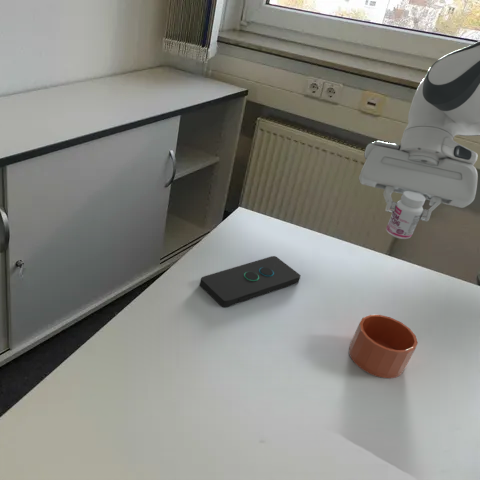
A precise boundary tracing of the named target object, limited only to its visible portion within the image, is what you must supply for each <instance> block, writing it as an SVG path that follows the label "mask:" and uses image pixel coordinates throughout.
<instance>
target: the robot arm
mask: <svg viewBox="0 0 480 480" xmlns="http://www.w3.org/2000/svg"><path fill="white" fill-rule="evenodd" d="M407 119H408V120H407V121H408V122H407V125H406V127H405V128H404V130H403V133H402V136H401V139H400V143H399V144H396V143H390V142H389V143H388V142H384V141H381V140H376V141H374V142H370V143H367V145H366V147H365V149H364V153H363V157H364V159H365V162H364V164H363V165H362V168H361V170H360V172H359V175H358V181H359V183H360V184H361V185H362V186H367V187H371V188H376V189H380V190H383V194H382V195H383V198H384V201H385V204H386V205H385V209H384V212H387V213H390V214H392V213H393V212H394V211H395V209H396V205H397V202H398V201H394V200H393V197H392V194H393V193H397V194H399V195H400V194H403V192H405V191H414V192H417V193H420V194H422V195H423V196H424V197H425V198H426V200H425V201H429V203H428V205H429V206H431V207H429V208H428V209H426V208H423V212H422V214H421V217H420V219H419V221H423V222H428V221H430V219H431V215H432V212H433V211H435V209H436V208H438V206H440V205H441V204H444V205H447V206H451V207H457V208H461V209H464V208H466V207H467V206H469V205H471V204H472V203H473V202H474V201H475V198H476V196H477V195H476V194H477V189H478V182H479V181H478V179H479V176H478V175H479V174H478V173H479V172H478V170H477V168H476V167H475V166H474V165H475V164H476V162H477V161H478V158H479V154H478V153H477V152H476V151H474V150H472V149H470V148H468V147H466V146H464V145H462V144H460V143H459V142H457V141H455V140H454V138H455V137H456V136H462V137H478V136H480V40H478V41H476V42H474V43H471V44H470V45H467V46H465V47H462V48H460V49H456V50H454V51H452V52H449V53H447V54H445V55H443V56H442V57H440V58H438V59H437V60H436V61H435V62H434V63H433V64H432V65H431V66H430V67H429V68H428V70H427V72H426V74H425V76H424V78H423V79H422V81H421V82H420V83H419V84H418V86H417V88H416V90H415V92H414V95H413V97H412V101H411V103H410V108H409V110H408V114H407Z"/></svg>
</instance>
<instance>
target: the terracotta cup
mask: <svg viewBox="0 0 480 480" xmlns="http://www.w3.org/2000/svg"><path fill="white" fill-rule="evenodd" d="M418 342H419V341H418V339H417V336H416V334H415V333H414V332H413V331H412V330H411V328H410V327H408V326H407V325H406V324H404V323H403V322H402V321H399V320H397V319H395V318H392V317H390V316H386V315H382V314H368V315H366V316H364V317H362V318H361V319H360V322H359V323H358V326H357V327H356V329H355V333H354V335H353V337H352V339H351V342H350V344H349V347H348V353H349V357H350V358H351V360H352V362H353V363H354V364H355V365H356V366H357V367H358V368H360V369H361V370H362V371H364V372H366V373H368V374H370V375H372V376H375V377H378V378H383V379H394V378H398V377H399V376H401V375H402V374H403V373H404V371H405V369H406V367H407V366H408V363H409V362H410V360H411V358H412V356H413V354H414V352H415V350H416V348H417V346H418V344H419V343H418Z"/></svg>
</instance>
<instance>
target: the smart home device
mask: <svg viewBox="0 0 480 480" xmlns="http://www.w3.org/2000/svg"><path fill="white" fill-rule="evenodd" d="M300 280H301V274H300V273H298V272H297V271H296V270H295V269H293V268H292V267H291V266H289V265H288V264H287V263H285V262H284V261H283V260H282V259H280V258H279V257H278V256H276V255H272V256H268V257H265V258H264V257H263V258H261V259H258V260H255V261H251V262H248V263H244V264H241V265H237V266H234V267H231V268H228V269H225V270H221V271H217V272H214V273H210V274H208V275H204V276H202V277H201V278H200V280H199V286H200V287H201V288H202V289H203V290H204V291H205V292H206V293H207V294H208V295H209V296H210V297H211V298H212V299H213V300H214V301H215V302H217V304H219V306H221V307H222V308H229V307H232V306H234V305H238V304H241V303H244V302H246V301H249V300H252V299H255V298H258V297H261V296H264V295H267V294H270V293H273V292H276V291H279V290H283V289H285V288H289V287H291V286H294V285H296V284H298V283H299V282H300Z"/></svg>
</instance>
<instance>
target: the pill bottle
mask: <svg viewBox="0 0 480 480" xmlns="http://www.w3.org/2000/svg"><path fill="white" fill-rule="evenodd" d="M426 201H427V200H426V198H425V197H424V196H423V195H422V194H420V193H417V192H414V191H405V192H403V194H402V195H401V196H400V199H399V200H398V201H396V202H397V205H396V209H395V211H394V212H393V213H391V216H390V218H389V220H388V223H387V225H386V227H385V230H386V233H388V234H389V235H391V236H392V237H393V238H396V239H400V240H407V239H410V238H411V237H412V236H413V234H414V232H415V230H416V227H417V225H418V223H419V221H420V220H419V219H420V217H421V214H422V212H423V209H424V207H423V206H424V204H425V202H426Z"/></svg>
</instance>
